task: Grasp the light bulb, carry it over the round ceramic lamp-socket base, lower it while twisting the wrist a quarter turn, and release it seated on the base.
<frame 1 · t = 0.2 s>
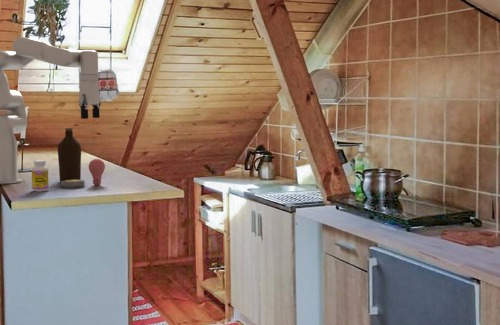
hand: (90, 118, 283), 30 cm above the table, fingers open, 9 cm apart
socket base: (73, 186, 286), on the table
supplement bottle: (40, 191, 274), on the table
olive oil: (70, 181, 302), on the table
light bulb: (97, 185, 290), on the table
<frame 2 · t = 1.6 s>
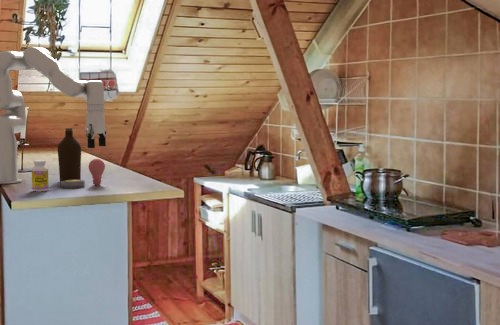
hand: (96, 147, 288), 17 cm above the table, fingers open, 9 cm apart
nothing on the table moved.
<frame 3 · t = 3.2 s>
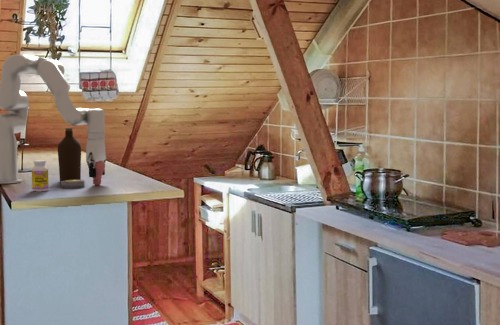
hand: (97, 175, 290), 4 cm above the table, fingers closed on light bulb, 7 cm apart
light bulb: (97, 185, 290), on the table, touching gripper
everything else where it was.
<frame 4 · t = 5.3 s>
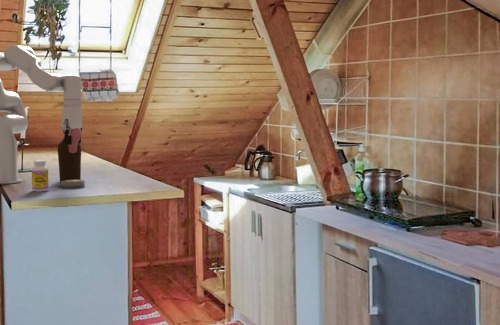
hand: (72, 143, 284), 19 cm above the table, fingers closed on light bulb, 7 cm apart
light bulb: (73, 153, 284), point 15 cm above the table, touching gripper
everything else where it was.
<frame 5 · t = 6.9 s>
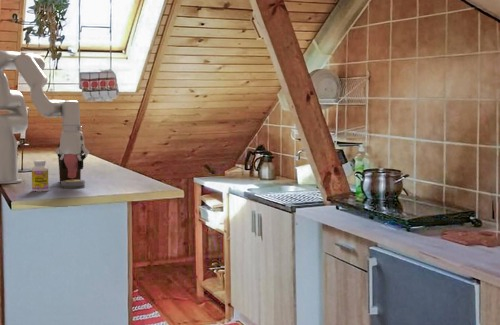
hand: (72, 168, 285), 8 cm above the table, fingers closed on light bulb, 7 cm apart
light bulb: (72, 179, 285), point 3 cm above the table, touching gripper
everything else where it was.
when the fingers open (8 cm above the table, at t = 7.4 s): light bulb stays where it is, resting on socket base.
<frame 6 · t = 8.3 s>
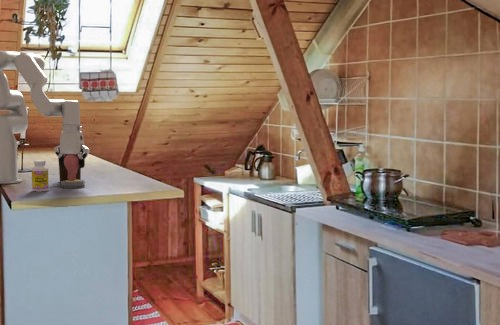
hand: (72, 167, 285), 9 cm above the table, fingers open, 9 cm apart
light bulb: (72, 180, 285), point 3 cm above the table, touching socket base
everything else where it was.
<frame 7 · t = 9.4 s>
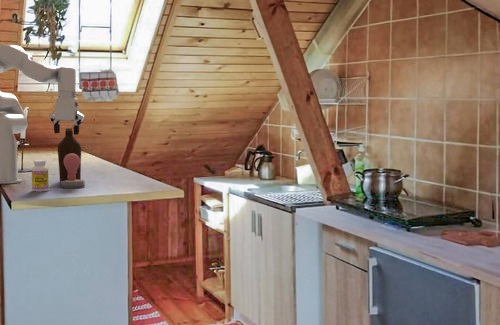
hand: (66, 133, 286), 23 cm above the table, fingers open, 9 cm apart
nothing on the table moved.
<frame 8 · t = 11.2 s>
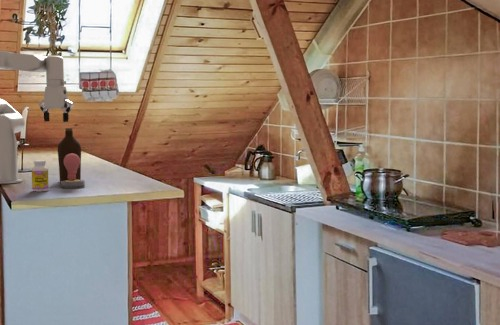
hand: (56, 121, 292), 28 cm above the table, fingers open, 9 cm apart
nothing on the table moved.
at the end: light bulb 0.2 cm from the socket base (horizontally); light bulb touching socket base; the gripper is holding nothing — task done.
